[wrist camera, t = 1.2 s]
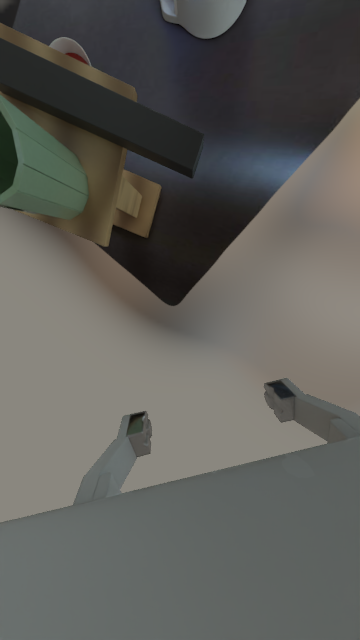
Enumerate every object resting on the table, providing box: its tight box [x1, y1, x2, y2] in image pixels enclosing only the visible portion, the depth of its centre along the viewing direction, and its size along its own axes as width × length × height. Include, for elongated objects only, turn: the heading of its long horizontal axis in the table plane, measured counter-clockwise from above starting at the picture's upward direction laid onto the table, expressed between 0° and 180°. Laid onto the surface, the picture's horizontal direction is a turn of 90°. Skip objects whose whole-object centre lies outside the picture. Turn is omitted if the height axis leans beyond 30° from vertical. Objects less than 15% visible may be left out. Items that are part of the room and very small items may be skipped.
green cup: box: [0, 95, 89, 220], centre depth 17 cm, size 8×8×9 cm
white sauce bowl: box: [49, 37, 92, 67], centre depth 34 cm, size 9×9×6 cm
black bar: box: [0, 38, 204, 178], centre depth 18 cm, size 22×3×2 cm, turn 69°
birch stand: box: [0, 23, 162, 246], centre depth 32 cm, size 14×16×26 cm
